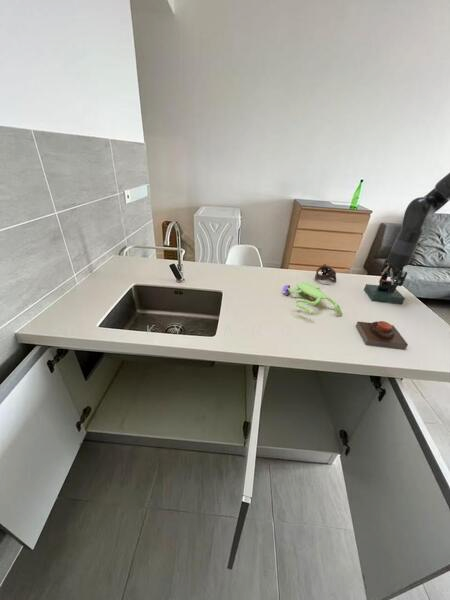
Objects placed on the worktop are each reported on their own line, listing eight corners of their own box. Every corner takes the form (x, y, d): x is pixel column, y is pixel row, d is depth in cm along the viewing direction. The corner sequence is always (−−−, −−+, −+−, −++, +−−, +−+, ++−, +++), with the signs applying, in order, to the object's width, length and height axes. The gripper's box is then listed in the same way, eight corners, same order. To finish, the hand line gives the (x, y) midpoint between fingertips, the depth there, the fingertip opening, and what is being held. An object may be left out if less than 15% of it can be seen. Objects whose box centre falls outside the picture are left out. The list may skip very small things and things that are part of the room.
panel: (391, 292, 109) (394, 286, 108) (402, 304, 101) (405, 297, 99) (363, 289, 111) (366, 283, 109) (372, 301, 102) (374, 294, 100)
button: (386, 326, 81) (388, 321, 80) (392, 333, 78) (394, 329, 77) (374, 324, 81) (376, 320, 81) (379, 332, 78) (381, 327, 77)
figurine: (298, 322, 87) (301, 309, 84) (276, 286, 109) (278, 275, 106) (346, 320, 89) (351, 308, 86) (315, 286, 111) (318, 275, 108)
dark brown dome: (339, 286, 114) (337, 273, 108) (318, 291, 117) (315, 279, 112) (332, 269, 122) (330, 257, 117) (313, 275, 125) (310, 263, 120)
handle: (390, 290, 105) (395, 280, 102) (392, 292, 103) (397, 282, 101) (377, 289, 105) (381, 279, 103) (378, 291, 104) (383, 281, 101)
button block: (390, 330, 85) (395, 321, 83) (405, 349, 77) (410, 340, 75) (355, 326, 86) (359, 317, 84) (365, 345, 78) (370, 335, 76)
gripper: (422, 259, 89) (403, 297, 97) (403, 246, 101) (387, 281, 109) (401, 257, 89) (383, 295, 98) (384, 244, 101) (370, 279, 110)
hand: (385, 287), depth 103 cm, fingers open, 8 cm apart
